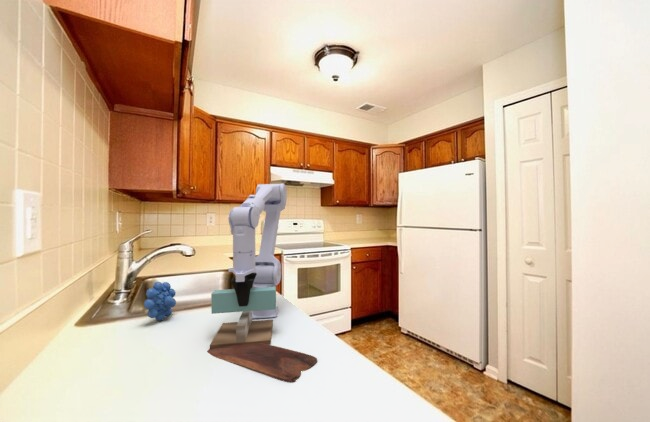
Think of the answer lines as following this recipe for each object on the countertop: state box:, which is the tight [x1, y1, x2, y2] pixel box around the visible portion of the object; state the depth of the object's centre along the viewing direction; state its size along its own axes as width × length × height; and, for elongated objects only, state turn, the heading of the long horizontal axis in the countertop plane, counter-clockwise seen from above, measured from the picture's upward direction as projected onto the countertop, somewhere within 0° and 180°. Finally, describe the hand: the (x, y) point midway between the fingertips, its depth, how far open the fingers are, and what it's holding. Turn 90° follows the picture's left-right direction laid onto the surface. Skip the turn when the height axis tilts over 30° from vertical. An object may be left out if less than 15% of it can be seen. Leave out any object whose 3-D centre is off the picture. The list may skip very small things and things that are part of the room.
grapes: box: [143, 281, 177, 322], centre depth 82 cm, size 12×7×12 cm, turn 170°
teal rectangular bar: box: [210, 286, 277, 314], centre depth 71 cm, size 16×4×5 cm, turn 99°
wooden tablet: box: [206, 343, 318, 383], centre depth 60 cm, size 26×2×10 cm
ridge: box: [209, 311, 274, 349], centre depth 71 cm, size 14×14×5 cm
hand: (244, 303), depth 71 cm, fingers closed on teal rectangular bar, 4 cm apart
